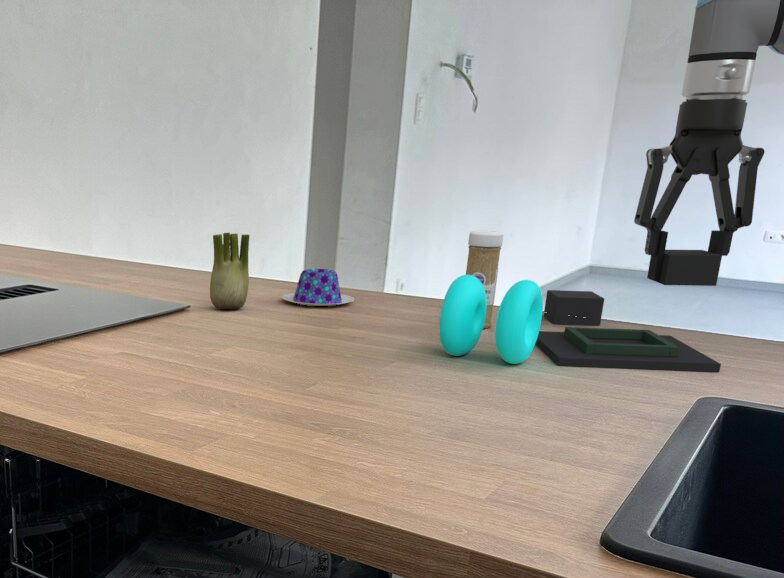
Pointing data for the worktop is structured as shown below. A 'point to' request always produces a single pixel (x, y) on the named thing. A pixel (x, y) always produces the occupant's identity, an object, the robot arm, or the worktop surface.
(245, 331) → the worktop surface
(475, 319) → the donuts
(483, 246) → the sprinkles bottle
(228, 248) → the fennel bulb
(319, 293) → the pudding
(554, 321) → the graphite pad
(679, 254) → the black rectangular block
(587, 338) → the base mat
